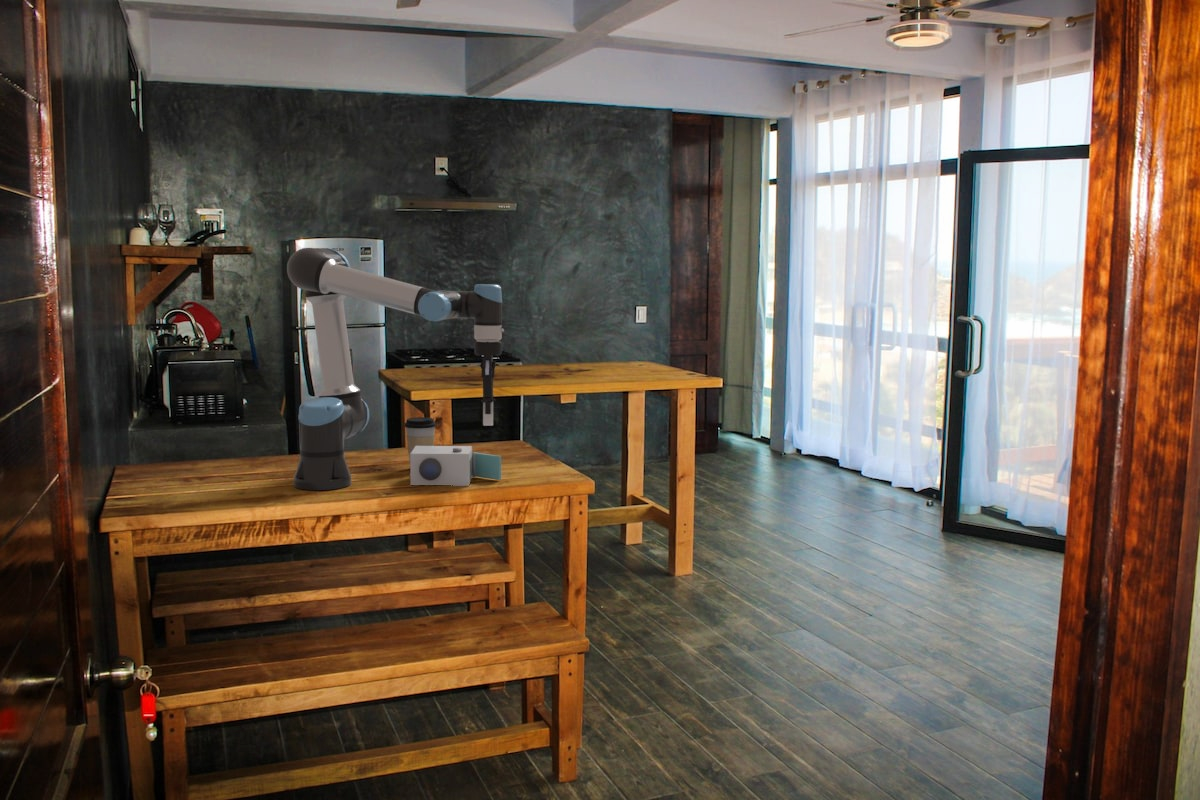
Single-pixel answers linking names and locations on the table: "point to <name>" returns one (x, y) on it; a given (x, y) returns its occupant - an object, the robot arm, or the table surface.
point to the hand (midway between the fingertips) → (488, 425)
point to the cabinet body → (441, 465)
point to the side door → (486, 466)
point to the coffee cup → (419, 432)
